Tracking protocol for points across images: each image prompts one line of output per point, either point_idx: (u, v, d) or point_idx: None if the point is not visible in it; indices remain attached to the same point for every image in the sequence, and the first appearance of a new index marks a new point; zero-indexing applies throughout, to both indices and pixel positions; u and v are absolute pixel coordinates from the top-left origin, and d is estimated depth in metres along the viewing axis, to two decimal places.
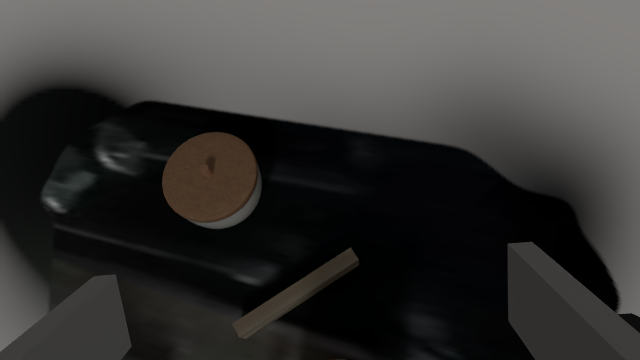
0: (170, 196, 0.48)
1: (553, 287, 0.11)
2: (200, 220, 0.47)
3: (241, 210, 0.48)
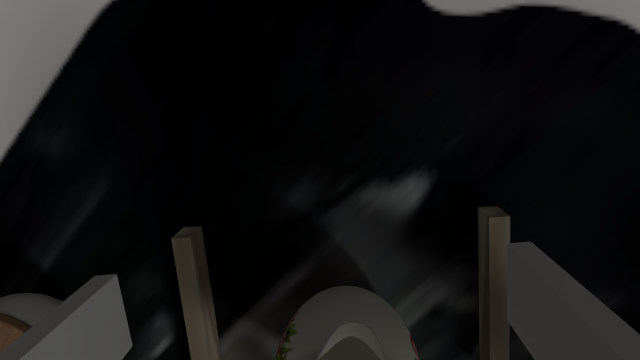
0: None
1: (551, 287, 0.11)
2: None
3: None
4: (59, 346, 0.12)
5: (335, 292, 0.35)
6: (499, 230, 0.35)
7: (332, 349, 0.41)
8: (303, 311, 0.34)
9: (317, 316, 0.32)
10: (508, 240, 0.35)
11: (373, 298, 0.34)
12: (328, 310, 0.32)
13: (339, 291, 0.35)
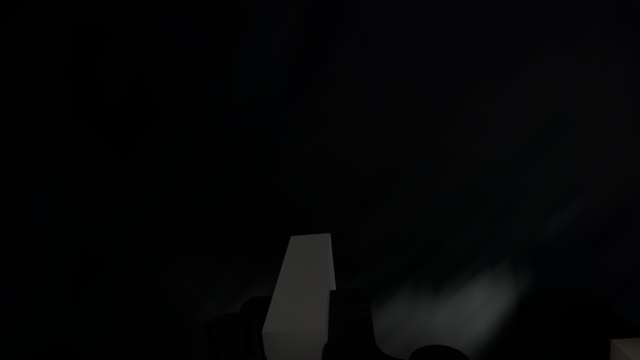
0: None
1: (305, 267, 0.14)
2: None
3: None
4: None
5: None
6: None
7: None
8: None
9: None
10: None
11: None
12: None
13: None
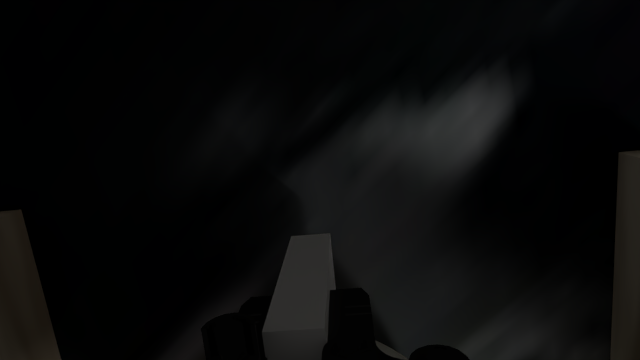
0: None
1: (305, 267, 0.14)
2: None
3: None
4: None
5: None
6: None
7: None
8: None
9: None
10: None
11: None
12: None
13: None
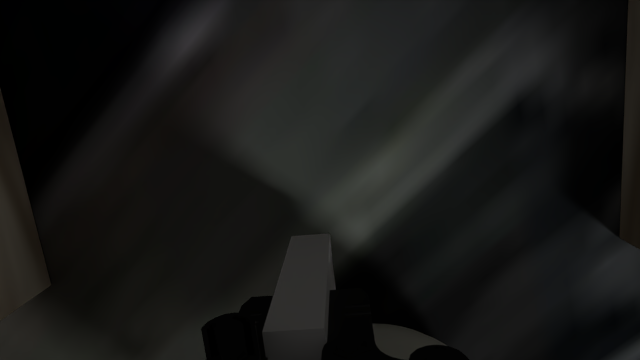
0: None
1: (304, 267, 0.14)
2: None
3: None
4: None
5: None
6: None
7: None
8: None
9: None
10: None
11: (396, 355, 0.14)
12: None
13: None
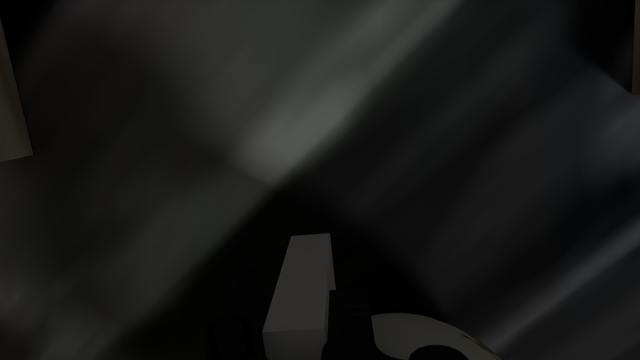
0: None
1: (304, 267, 0.14)
2: None
3: None
4: None
5: None
6: None
7: None
8: None
9: None
10: None
11: (395, 346, 0.13)
12: None
13: None
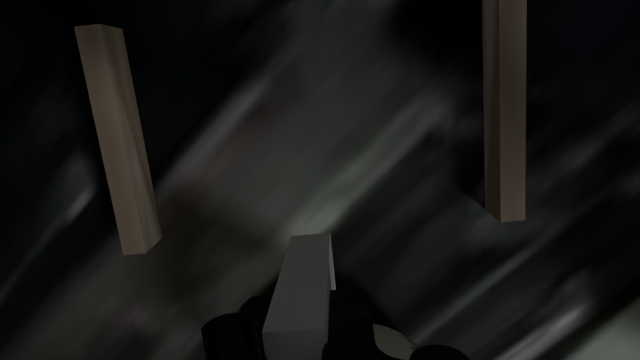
0: None
1: (305, 267, 0.14)
2: None
3: None
4: None
5: None
6: None
7: None
8: None
9: None
10: (524, 11, 0.26)
11: None
12: None
13: None
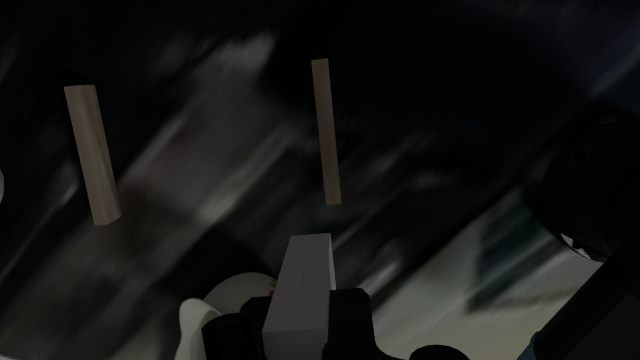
0: None
1: (305, 267, 0.14)
2: None
3: None
4: None
5: None
6: (320, 70, 0.44)
7: None
8: None
9: None
10: (328, 78, 0.44)
11: (242, 277, 0.47)
12: (207, 299, 0.45)
13: None
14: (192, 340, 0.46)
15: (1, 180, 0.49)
